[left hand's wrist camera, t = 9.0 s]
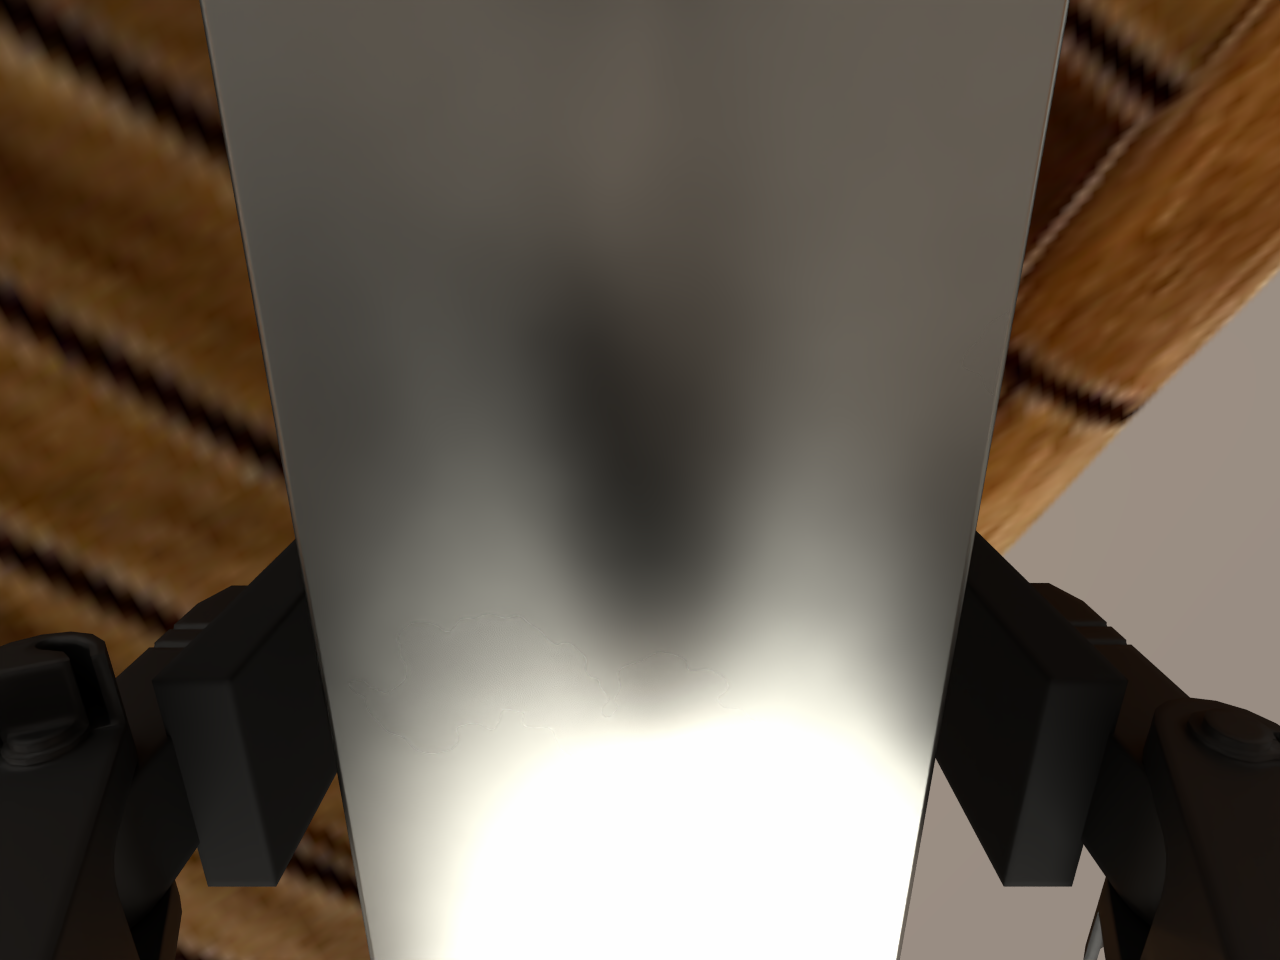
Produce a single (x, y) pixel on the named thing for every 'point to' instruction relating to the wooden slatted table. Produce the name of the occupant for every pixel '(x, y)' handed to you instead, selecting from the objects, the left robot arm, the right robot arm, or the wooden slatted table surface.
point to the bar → (634, 440)
